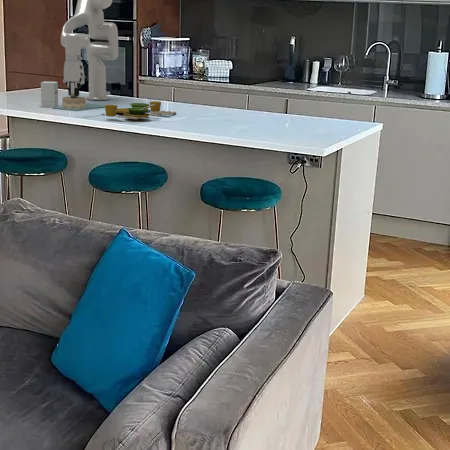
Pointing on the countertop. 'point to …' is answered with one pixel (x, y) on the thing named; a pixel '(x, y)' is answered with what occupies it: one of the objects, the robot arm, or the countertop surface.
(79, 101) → the tan box
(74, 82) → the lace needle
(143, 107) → the tableware set
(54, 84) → the supplement box
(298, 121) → the countertop surface
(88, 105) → the mat
